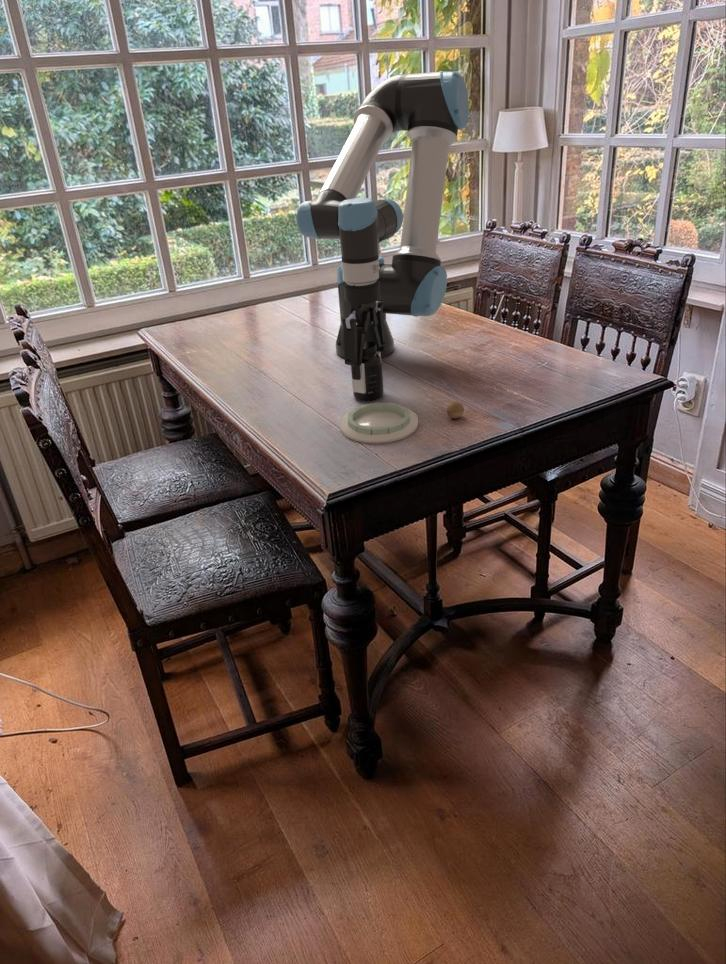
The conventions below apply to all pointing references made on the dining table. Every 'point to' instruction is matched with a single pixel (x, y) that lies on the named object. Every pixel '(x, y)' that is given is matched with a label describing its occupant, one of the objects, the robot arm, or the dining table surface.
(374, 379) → the supplement bottle
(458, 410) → the wooden bead
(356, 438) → the plate
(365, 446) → the dining table surface
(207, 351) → the dining table surface
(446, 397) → the dining table surface
